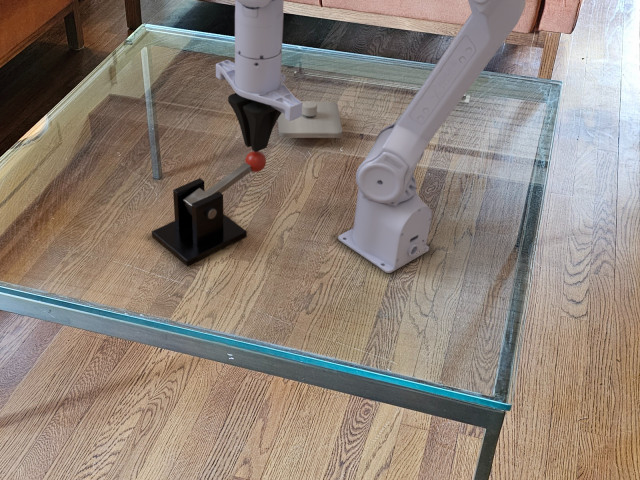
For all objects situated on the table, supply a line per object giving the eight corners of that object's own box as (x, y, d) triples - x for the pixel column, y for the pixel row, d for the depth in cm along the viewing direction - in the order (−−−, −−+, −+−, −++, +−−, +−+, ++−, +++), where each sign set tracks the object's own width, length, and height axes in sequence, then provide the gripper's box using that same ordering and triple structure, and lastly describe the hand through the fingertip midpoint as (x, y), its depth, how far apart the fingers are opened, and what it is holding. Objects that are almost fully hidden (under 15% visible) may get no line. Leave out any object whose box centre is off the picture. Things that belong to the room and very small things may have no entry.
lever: (258, 159, 114) (254, 143, 112) (271, 167, 113) (268, 152, 111) (186, 212, 111) (181, 197, 109) (199, 222, 109) (194, 207, 107)
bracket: (210, 209, 118) (209, 165, 113) (246, 237, 113) (247, 192, 108) (151, 237, 113) (148, 192, 108) (187, 266, 108) (185, 221, 103)
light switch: (342, 148, 130) (345, 119, 126) (278, 148, 130) (279, 119, 126) (335, 116, 137) (338, 88, 134) (275, 116, 137) (276, 88, 134)
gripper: (323, 61, 99) (316, 159, 108) (245, 20, 108) (244, 115, 117) (278, 78, 96) (274, 178, 105) (202, 35, 104) (204, 131, 113)
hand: (256, 146), depth 111 cm, fingers closed
